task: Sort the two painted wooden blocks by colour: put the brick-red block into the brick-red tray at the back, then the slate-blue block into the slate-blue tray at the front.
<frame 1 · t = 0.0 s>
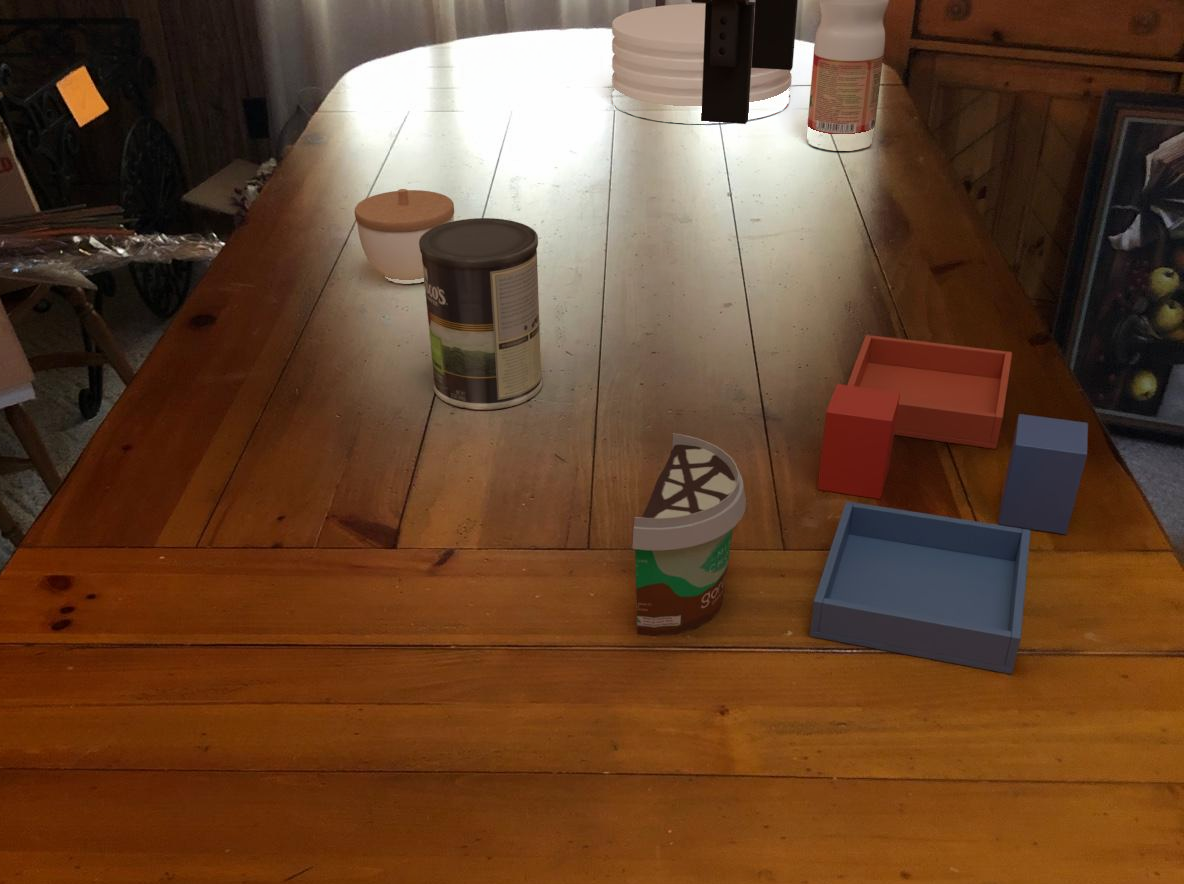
hand: (749, 93, 78), 31 cm above the table, tool pointing down, fingers open, 13 cm apart
food container: (695, 603, 86), on the table
blue tray: (920, 599, 86), on the table
plate stack: (700, 101, 194), on the table
blue block: (1033, 513, 94), on the table
trinket box: (411, 276, 137), on the table
red block: (853, 479, 99), on the table
coffee can: (489, 387, 114), on the table
red tray: (925, 404, 109), on the table
fruit juice: (839, 145, 173), on the table
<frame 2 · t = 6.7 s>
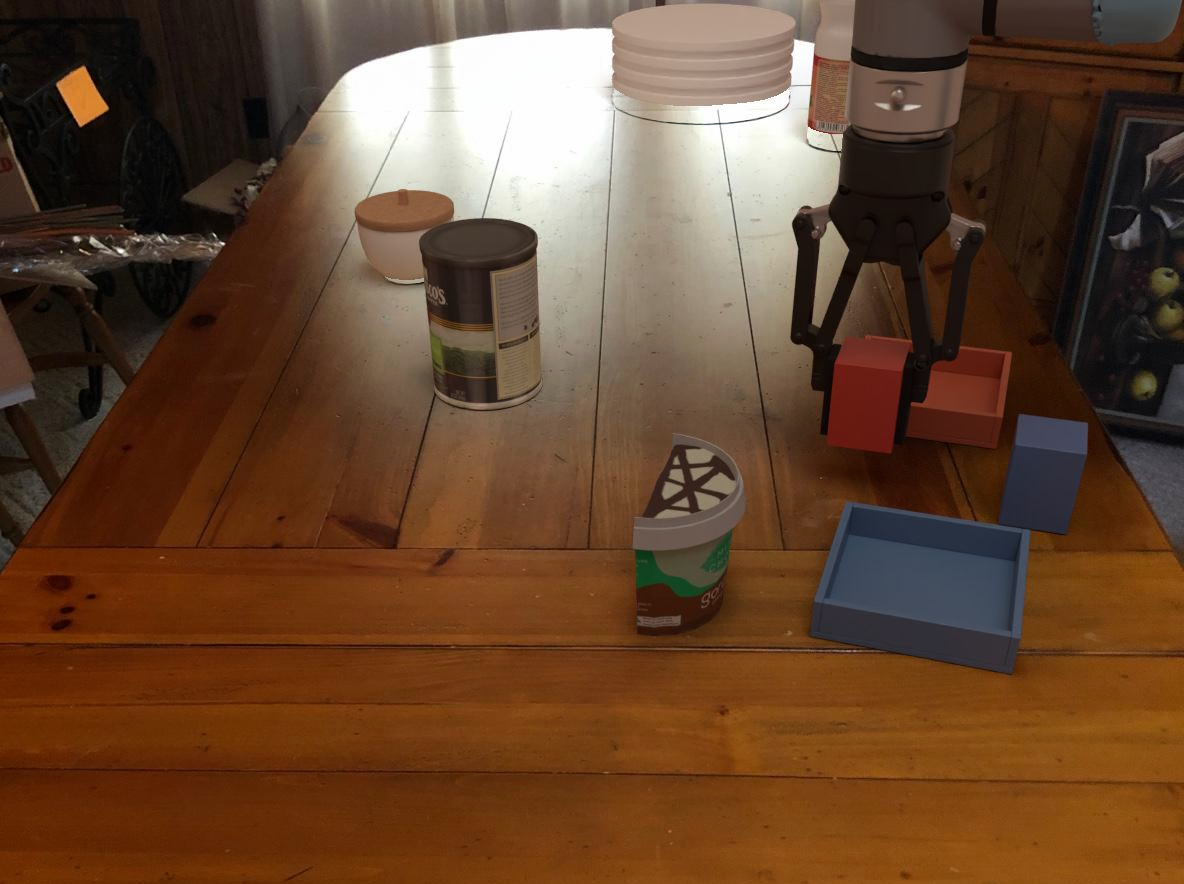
hand: (863, 431, 96), 4 cm above the table, tool pointing down, fingers closed on red block, 5 cm apart
red block: (863, 434, 96), point 4 cm above the table, touching gripper
everything else where it was.
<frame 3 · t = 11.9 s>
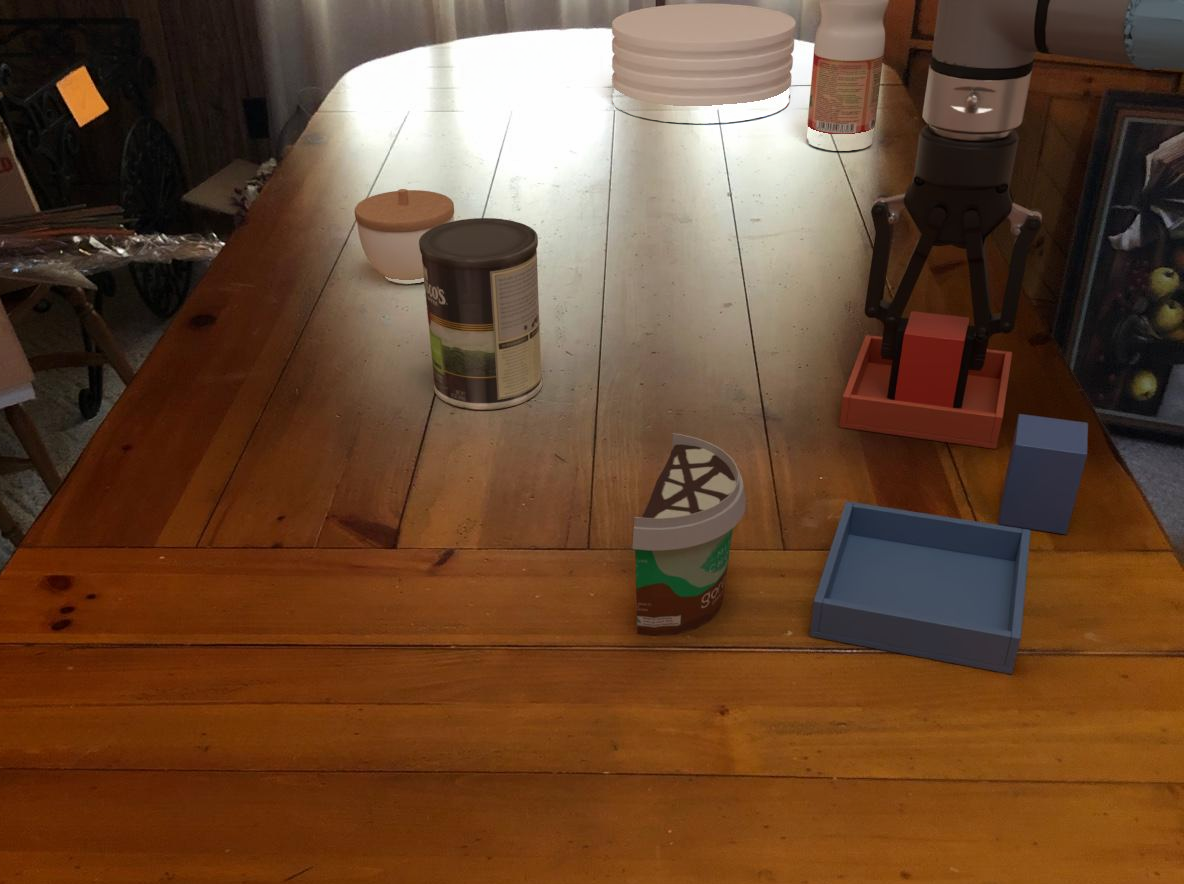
hand: (925, 395, 109), 1 cm above the table, tool pointing down, fingers closed on red block, 5 cm apart
red block: (925, 398, 109), resting on red tray, touching gripper
everything else where it was.
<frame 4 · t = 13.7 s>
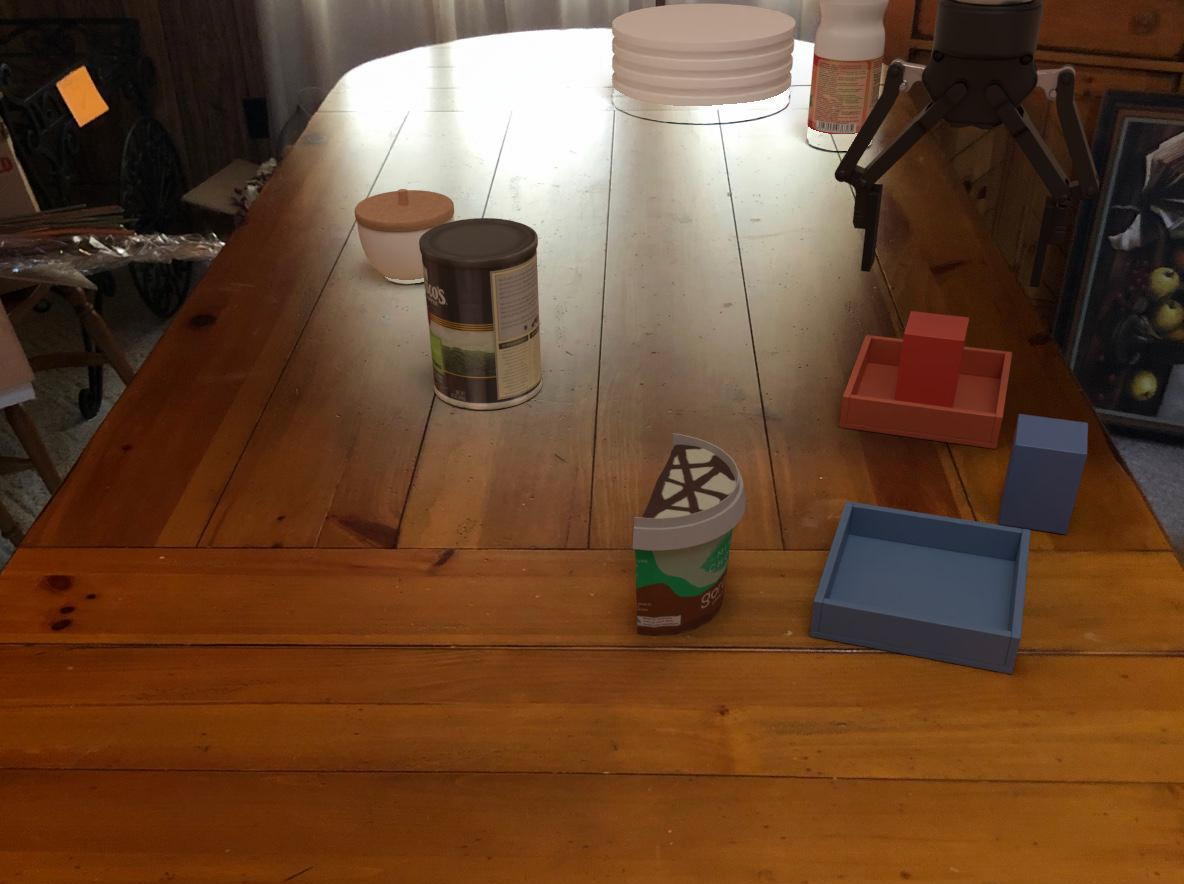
hand: (949, 273, 102), 12 cm above the table, tool pointing down, fingers open, 13 cm apart
red block: (925, 398, 109), resting on red tray
everything else where it was.
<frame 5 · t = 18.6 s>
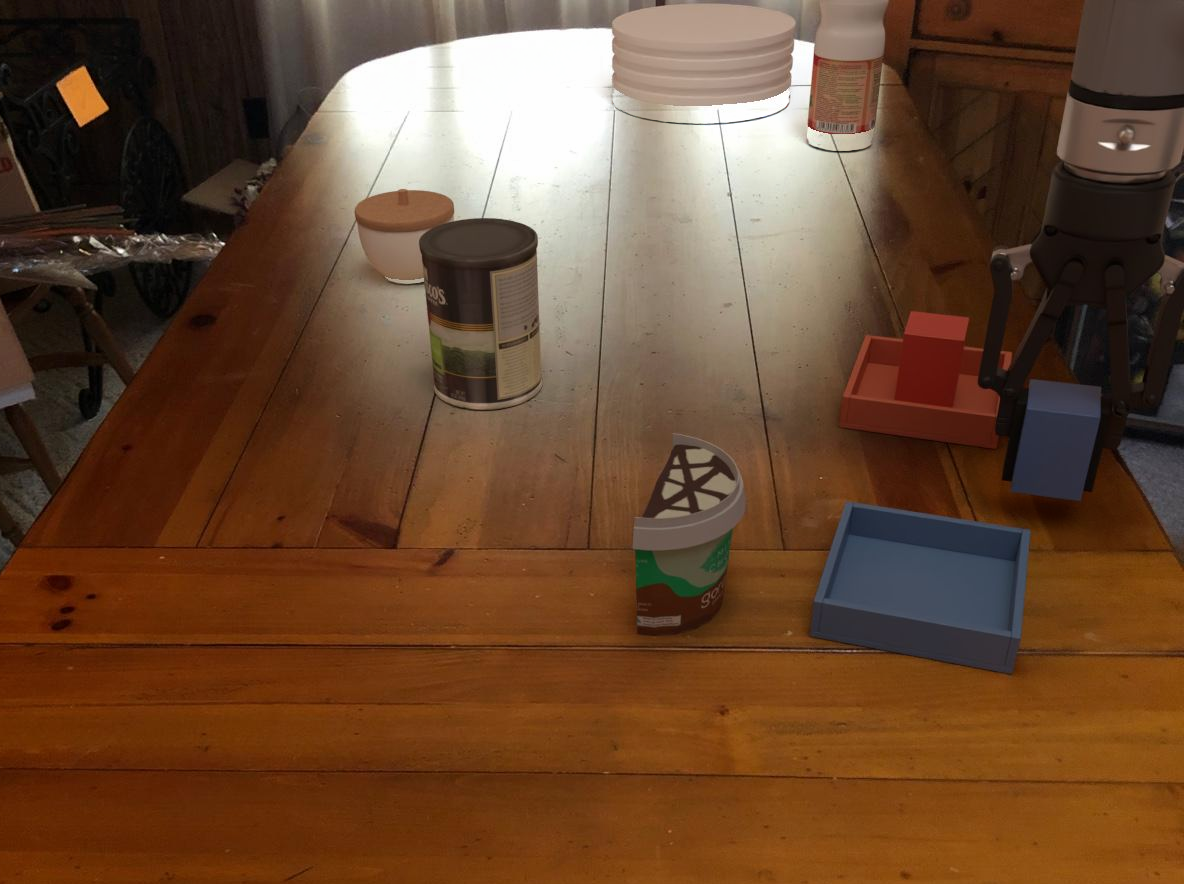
hand: (1046, 477, 92), 3 cm above the table, tool pointing down, fingers closed on blue block, 5 cm apart
blue block: (1046, 480, 93), point 3 cm above the table, touching gripper
everything else where it was.
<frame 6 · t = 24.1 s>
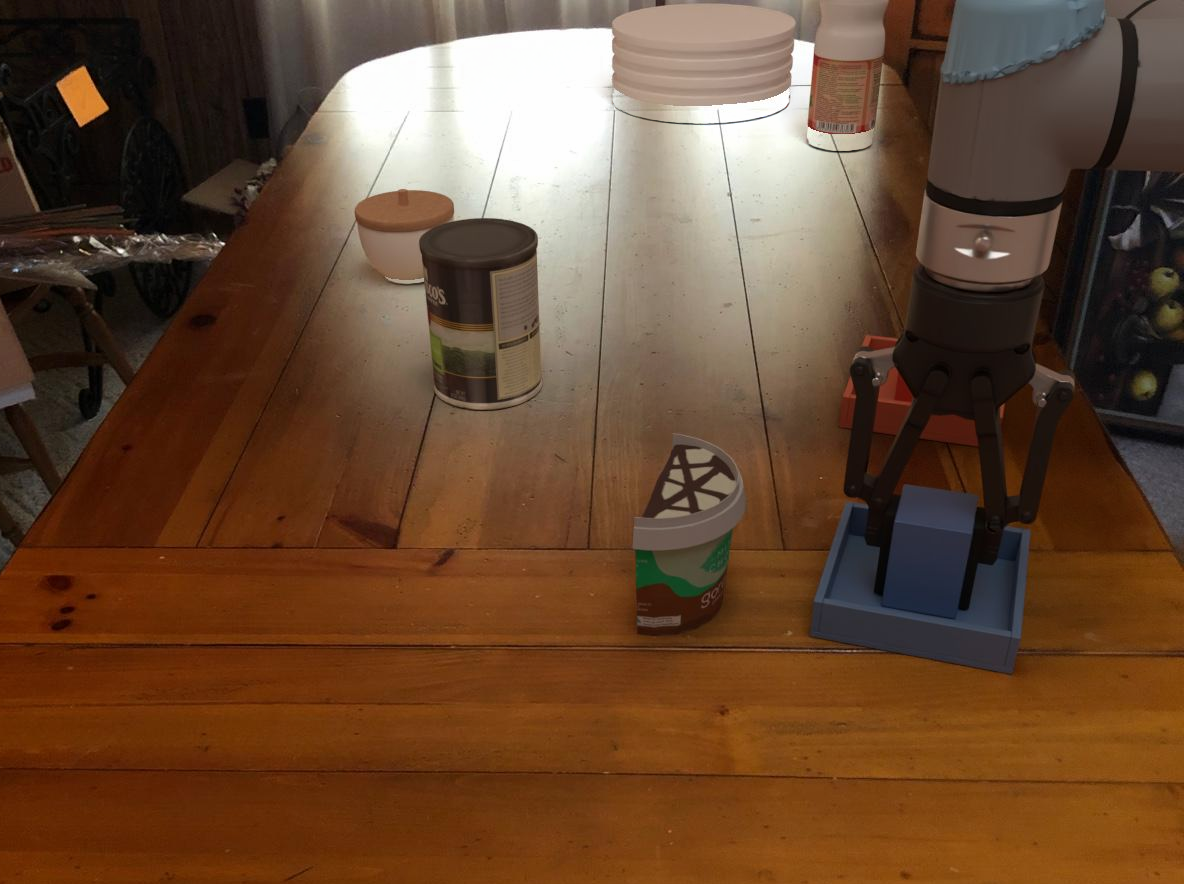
hand: (922, 589, 85), 1 cm above the table, tool pointing down, fingers closed on blue block, 5 cm apart
blue block: (922, 592, 85), point 1 cm above the table, touching gripper
everything else where it was.
when the fingers open (2 cm above the table, at t = 29.4 s): blue block drops 1 cm, resting on blue tray.
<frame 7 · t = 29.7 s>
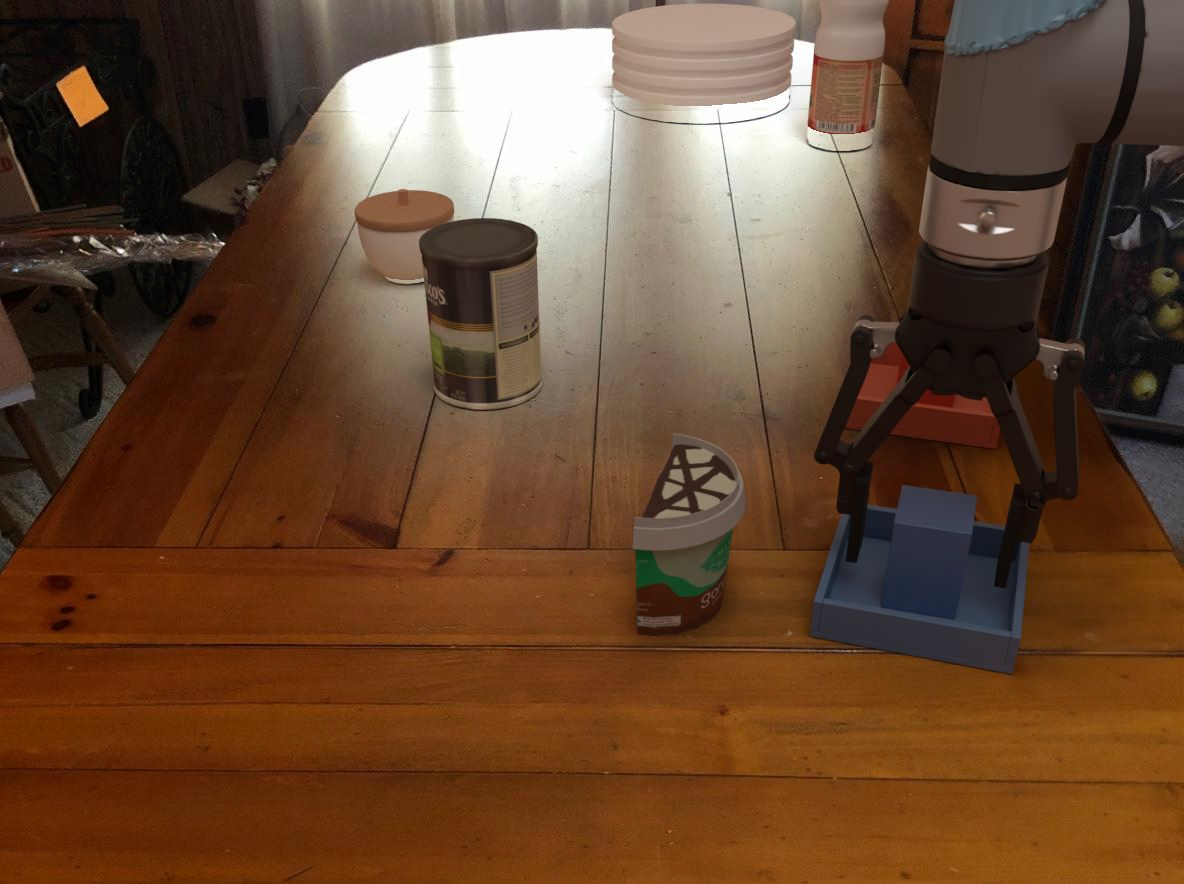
hand: (926, 563, 84), 3 cm above the table, tool pointing down, fingers open, 9 cm apart
blue block: (921, 593, 85), resting on blue tray
everything else where it was.
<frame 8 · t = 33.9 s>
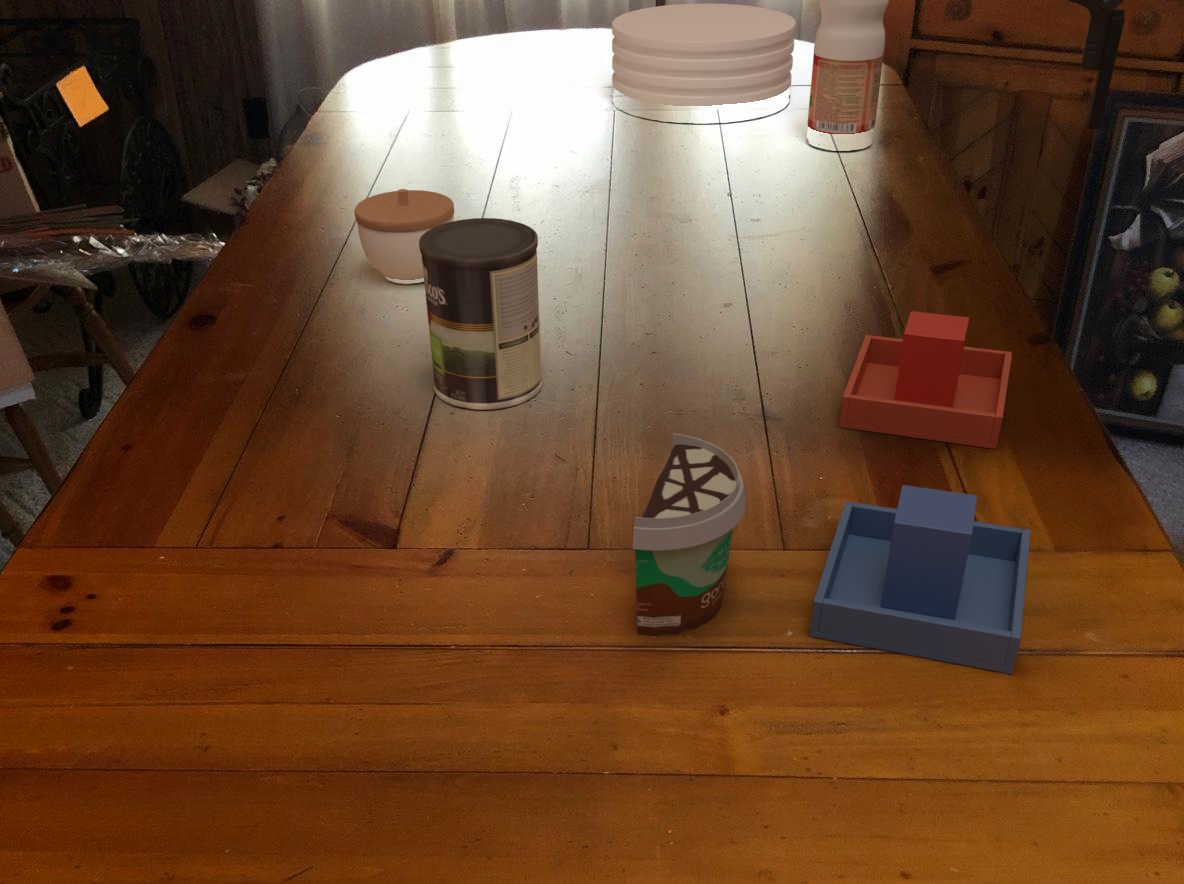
nothing on the table moved.
at the end: red block inside the target area in the red tray (0.1 cm from its centre), point 0.5 cm above the red tray's base; blue block inside the target area in the blue tray (0.0 cm from its centre), point 0.5 cm above the blue tray's base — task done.
